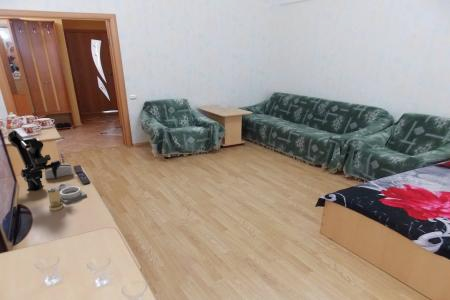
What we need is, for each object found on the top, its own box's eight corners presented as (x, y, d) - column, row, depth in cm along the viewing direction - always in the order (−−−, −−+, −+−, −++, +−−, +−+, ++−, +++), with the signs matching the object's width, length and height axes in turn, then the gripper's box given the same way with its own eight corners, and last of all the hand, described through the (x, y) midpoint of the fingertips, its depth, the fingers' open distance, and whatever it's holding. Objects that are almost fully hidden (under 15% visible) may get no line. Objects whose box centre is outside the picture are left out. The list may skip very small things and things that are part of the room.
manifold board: (47, 191, 171) (46, 185, 169) (68, 185, 180) (66, 178, 179) (66, 204, 158) (64, 196, 157) (86, 196, 167) (85, 189, 166)
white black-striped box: (72, 171, 200) (71, 160, 194) (73, 175, 197) (72, 165, 191) (45, 176, 191) (42, 165, 186) (45, 180, 188) (43, 169, 183)
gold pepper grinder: (46, 210, 151) (42, 191, 147) (54, 204, 158) (50, 185, 154) (59, 211, 151) (55, 192, 147) (66, 204, 158) (62, 186, 154)
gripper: (18, 155, 146) (29, 181, 143) (57, 147, 159) (68, 171, 157) (16, 164, 153) (27, 189, 151) (53, 155, 167) (64, 178, 164)
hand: (47, 181), depth 155 cm, fingers open, 9 cm apart
